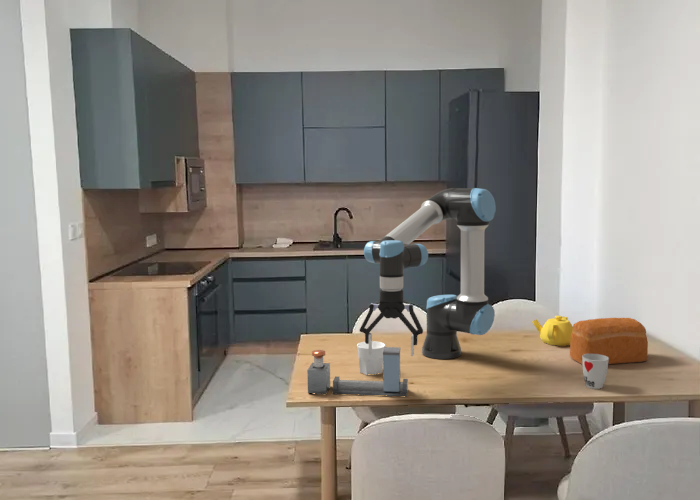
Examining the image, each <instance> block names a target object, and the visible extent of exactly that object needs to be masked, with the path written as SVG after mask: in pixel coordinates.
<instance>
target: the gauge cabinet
mask: <svg viewBox="0 0 700 500" xmlns="http://www.w3.org/2000/svg"><path fill="white" fill-rule="evenodd" d="M329 387H331V363H330V362H323V368H314V362H312V363H311V364H310V366H309V367H308V368H307V394H308V393H315V394H314V395H323V394H326V393H327V394H328V392H327V391H329V390H330V388H329ZM328 389H329V390H328ZM327 394H326V395H327Z"/></svg>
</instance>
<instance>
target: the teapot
mask: <svg viewBox="0 0 700 500" xmlns="http://www.w3.org/2000/svg"><path fill="white" fill-rule="evenodd" d="M531 323H532V324H533V326H534V327H535V328H536V330H537V332H539V338H540V339H541V341H542V342H543V343H544V344H546V343H547V345H549V344H550V345H551V346H555V345H557V346H559V347H566V345H568V346H570V342H571V333H572V332H573V325H572V323H571V322H570V320H569V318H568V316H561V315H554V317H553V318H548V319H547V320H546V321H545V323H544V324H543V326H542V325H541V324H540V321H539V320H538V319H537V318H536V319H534V320H532V321H531Z"/></svg>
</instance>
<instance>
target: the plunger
mask: <svg viewBox="0 0 700 500" xmlns="http://www.w3.org/2000/svg"><path fill="white" fill-rule="evenodd" d="M312 356H313V360H314V361H313V363H314V368H323V363H324V356H326V351H325V350H323V349H315V350H313V351H311V357H312Z"/></svg>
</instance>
